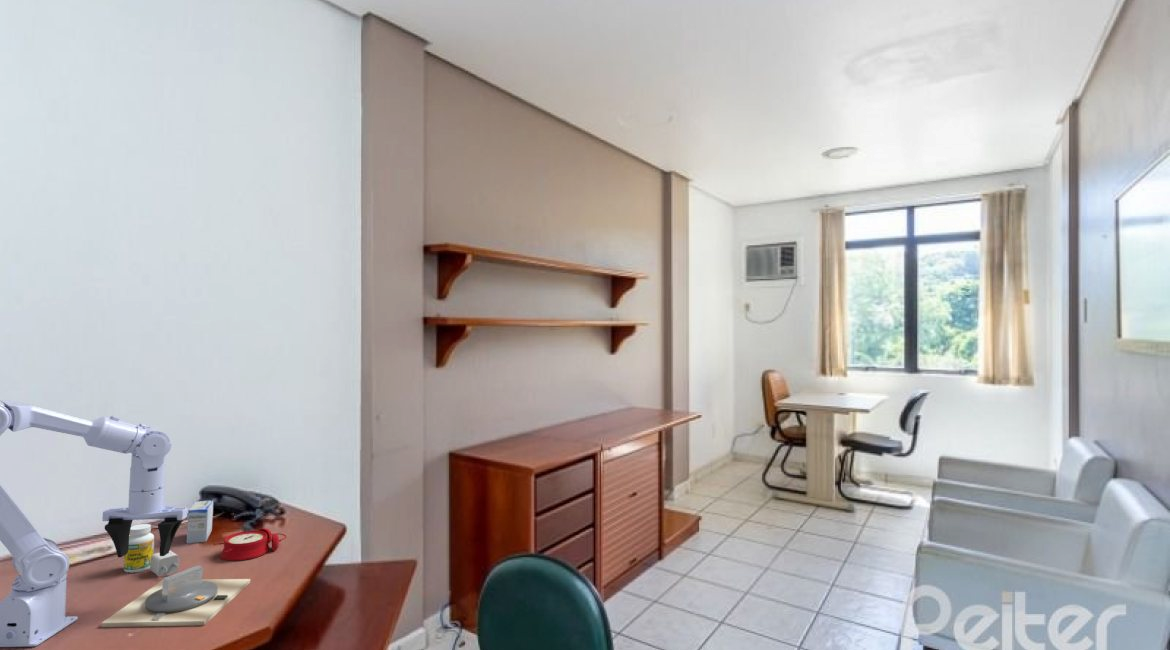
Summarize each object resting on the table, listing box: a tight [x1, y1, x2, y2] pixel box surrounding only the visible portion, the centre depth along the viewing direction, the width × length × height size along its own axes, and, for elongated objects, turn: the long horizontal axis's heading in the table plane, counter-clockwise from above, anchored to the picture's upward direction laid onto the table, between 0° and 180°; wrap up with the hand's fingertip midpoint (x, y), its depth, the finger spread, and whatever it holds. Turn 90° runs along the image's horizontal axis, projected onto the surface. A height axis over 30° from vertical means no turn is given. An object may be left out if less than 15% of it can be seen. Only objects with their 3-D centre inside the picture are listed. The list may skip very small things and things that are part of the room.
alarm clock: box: [213, 527, 287, 561], centre depth 142 cm, size 10×6×15 cm
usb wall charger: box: [149, 549, 180, 577], centre depth 128 cm, size 4×7×4 cm, turn 55°
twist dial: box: [145, 565, 218, 613], centre depth 115 cm, size 12×12×5 cm
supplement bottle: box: [123, 523, 155, 574], centre depth 130 cm, size 5×5×10 cm
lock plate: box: [100, 578, 251, 628], centre depth 115 cm, size 18×18×1 cm
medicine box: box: [186, 500, 214, 545], centre depth 149 cm, size 8×4×9 cm, turn 25°
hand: (143, 554), depth 116 cm, fingers open, 7 cm apart
